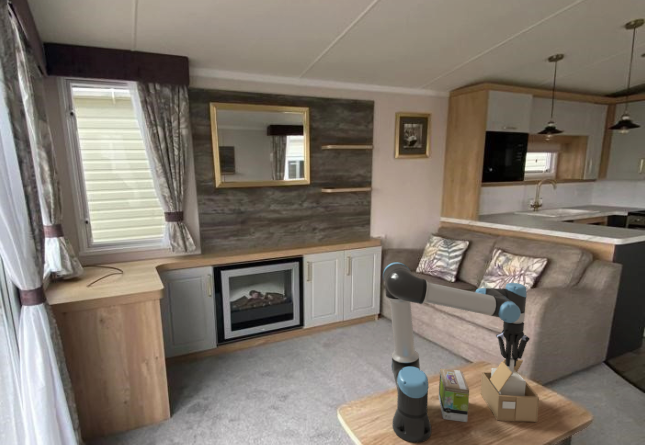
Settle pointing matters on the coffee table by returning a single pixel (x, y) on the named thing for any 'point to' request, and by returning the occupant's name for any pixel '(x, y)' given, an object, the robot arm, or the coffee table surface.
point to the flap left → (501, 376)
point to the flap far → (518, 364)
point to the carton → (510, 398)
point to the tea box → (453, 395)
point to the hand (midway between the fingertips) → (509, 372)
